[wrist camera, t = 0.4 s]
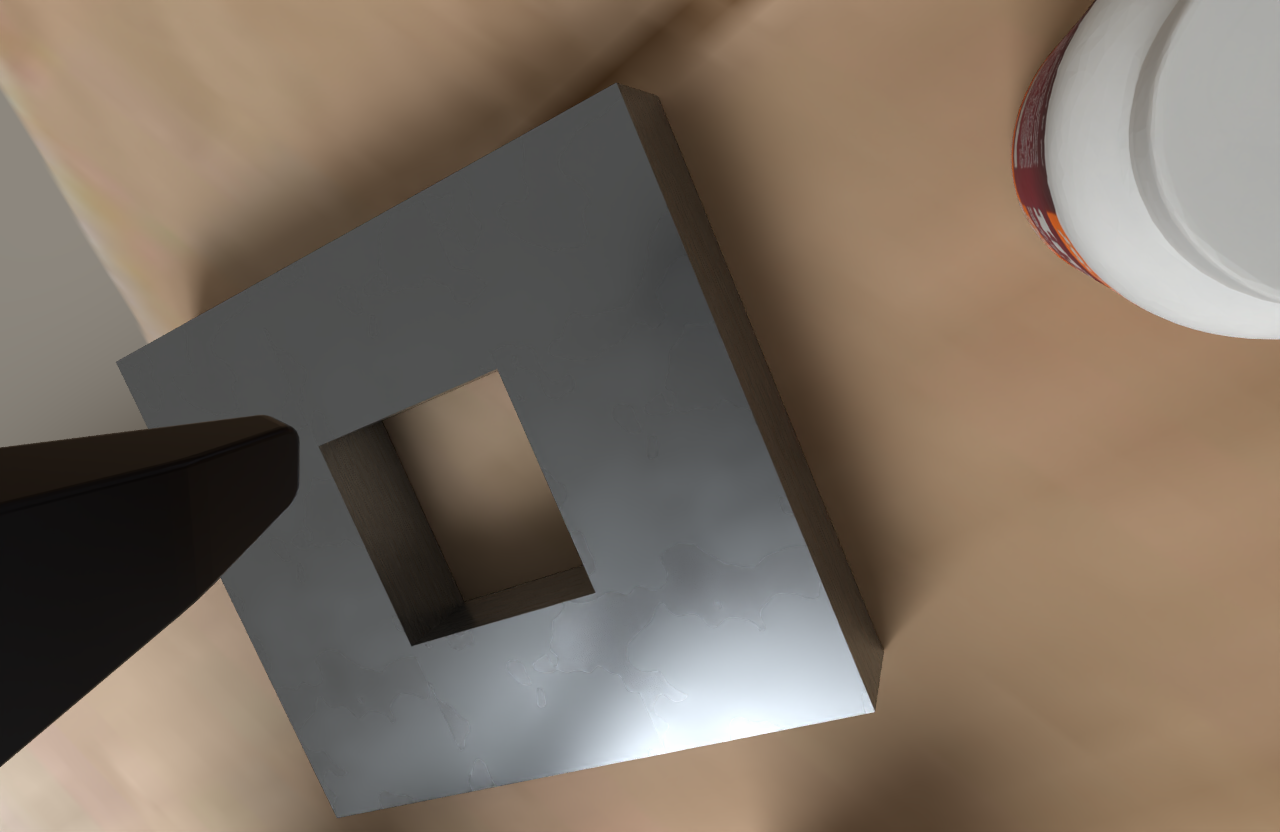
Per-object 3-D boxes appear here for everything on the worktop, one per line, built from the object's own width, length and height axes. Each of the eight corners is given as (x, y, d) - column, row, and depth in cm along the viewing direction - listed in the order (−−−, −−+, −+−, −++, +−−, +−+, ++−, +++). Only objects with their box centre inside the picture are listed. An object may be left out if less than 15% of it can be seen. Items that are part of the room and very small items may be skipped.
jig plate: (391, 762, 31) (337, 818, 28) (194, 346, 29) (116, 362, 27) (883, 652, 24) (874, 711, 21) (657, 96, 22) (616, 82, 20)
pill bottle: (972, 251, 21) (992, 306, 11) (1061, -32, 19) (1188, -290, 9) (1262, 315, 19) (1609, 454, 9) (1392, 14, 17) (2016, -240, 7)
